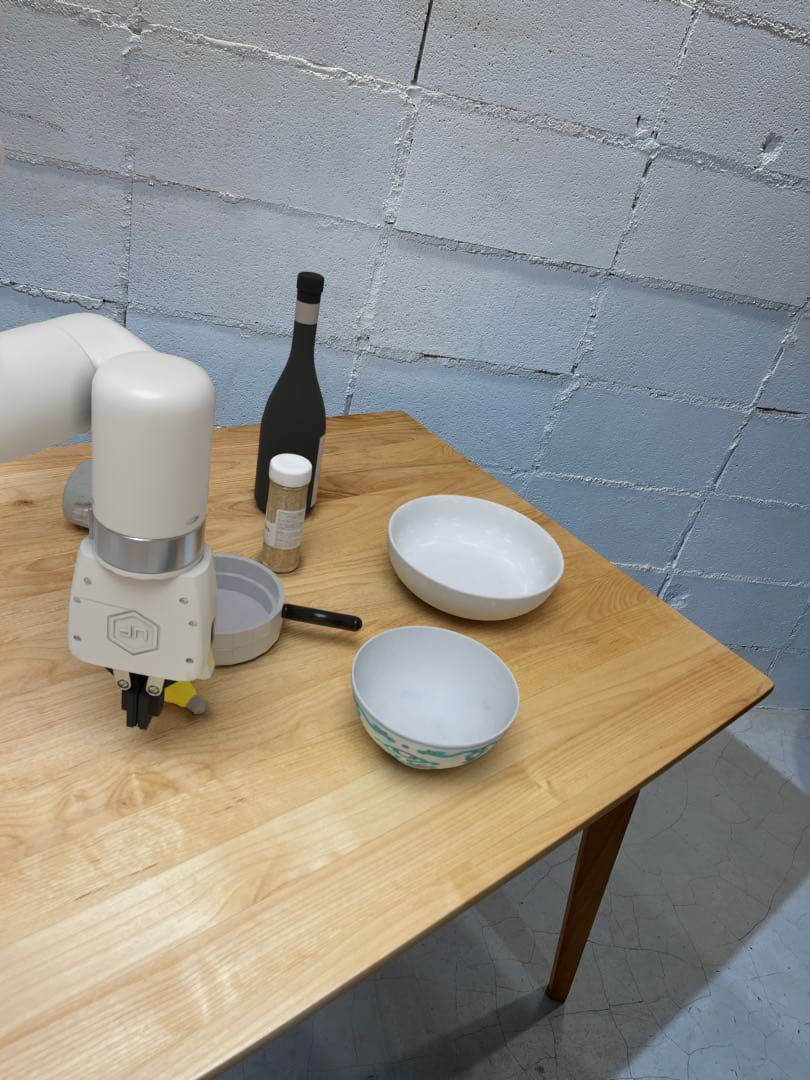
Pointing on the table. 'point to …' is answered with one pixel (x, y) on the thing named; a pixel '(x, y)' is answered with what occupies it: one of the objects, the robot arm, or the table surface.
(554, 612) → the table surface
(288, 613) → the pan handle
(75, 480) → the ceramic mug
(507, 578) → the serving bowl
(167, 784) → the table surface
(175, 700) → the light bulb
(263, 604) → the pan
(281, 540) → the spice jar
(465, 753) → the chinaware
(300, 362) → the wine bottle
